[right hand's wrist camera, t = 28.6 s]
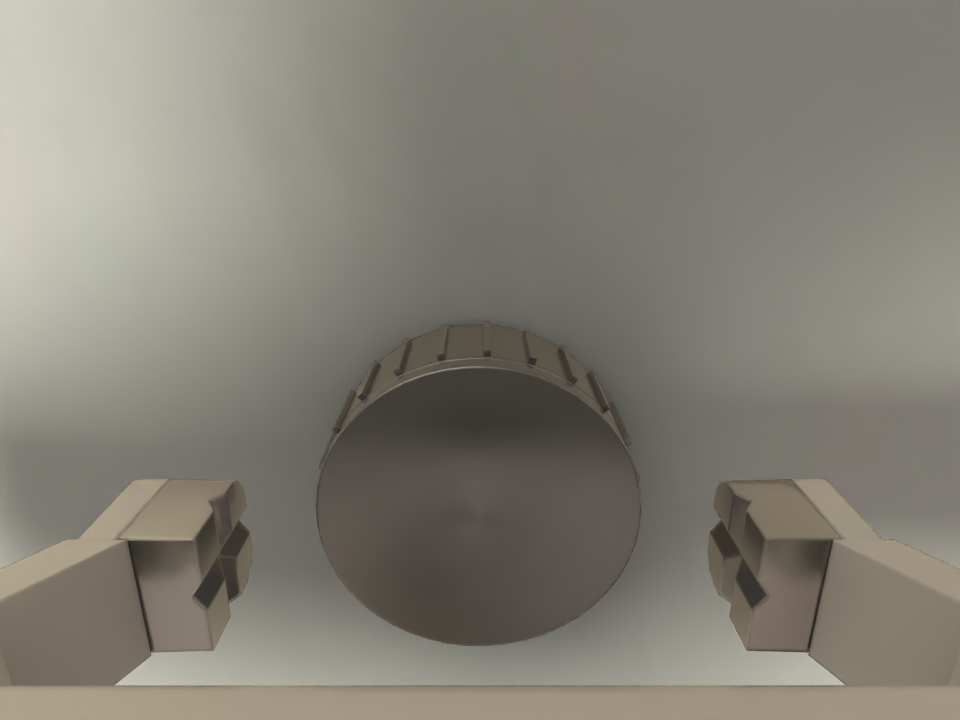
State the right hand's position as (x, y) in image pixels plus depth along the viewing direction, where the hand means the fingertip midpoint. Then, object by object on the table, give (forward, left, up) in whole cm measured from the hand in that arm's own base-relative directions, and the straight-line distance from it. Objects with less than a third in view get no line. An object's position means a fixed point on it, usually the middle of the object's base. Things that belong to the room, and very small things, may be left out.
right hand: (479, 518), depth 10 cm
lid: (0, 0, 0) cm, 0 cm away
